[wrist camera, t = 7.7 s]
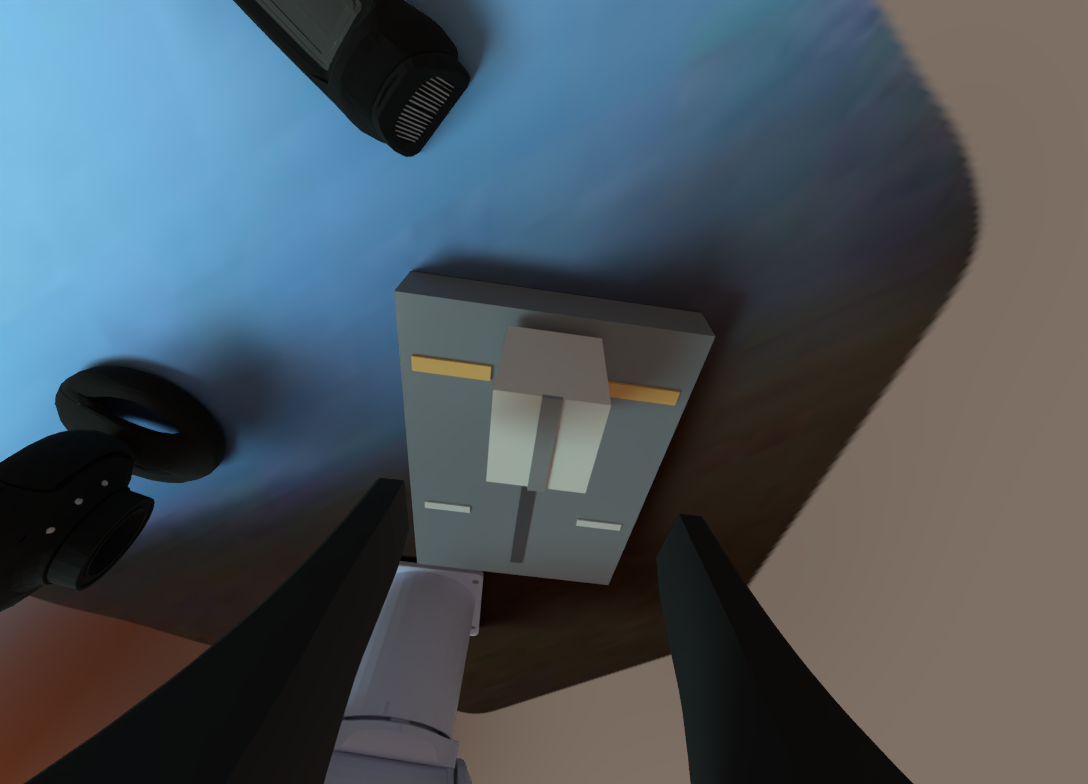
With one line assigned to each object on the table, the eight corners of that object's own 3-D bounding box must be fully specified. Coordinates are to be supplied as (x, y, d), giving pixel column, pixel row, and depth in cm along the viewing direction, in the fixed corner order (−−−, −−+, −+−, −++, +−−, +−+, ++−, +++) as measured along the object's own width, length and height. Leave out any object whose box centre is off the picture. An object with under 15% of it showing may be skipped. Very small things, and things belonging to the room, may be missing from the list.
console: (605, 556, 28) (608, 586, 26) (425, 535, 28) (416, 565, 26) (701, 313, 17) (716, 338, 16) (410, 271, 17) (393, 292, 15)
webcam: (218, 487, 26) (60, 673, 18) (75, 434, 23) (-181, 620, 15) (241, 406, 22) (50, 599, 14) (71, 333, 19) (-278, 511, 11)
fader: (581, 420, 18) (585, 497, 15) (500, 410, 18) (485, 485, 15) (602, 337, 16) (611, 406, 12) (508, 324, 15) (492, 390, 12)
